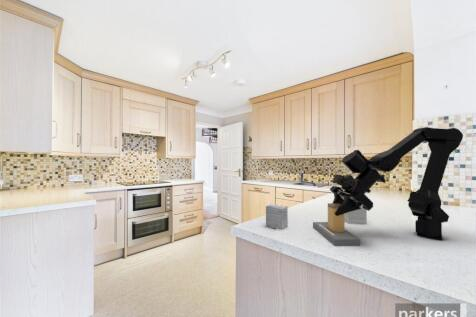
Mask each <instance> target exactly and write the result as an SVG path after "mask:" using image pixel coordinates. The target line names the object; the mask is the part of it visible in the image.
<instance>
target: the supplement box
mask: <svg viewBox="0 0 476 317" xmlns="http://www.w3.org/2000/svg"><path fill="white" fill-rule="evenodd" d="M360 208H361V209H360V210H359V209H358V210H355V211H351V212H348V213H345V214H344V222H346V223H347V224H349V225H350V224H351V225H353V224H354V225H367V223H368V220H367V216H368V215H367V213H368V210H365V209H364V208H363V205H361V206H360Z"/></svg>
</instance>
